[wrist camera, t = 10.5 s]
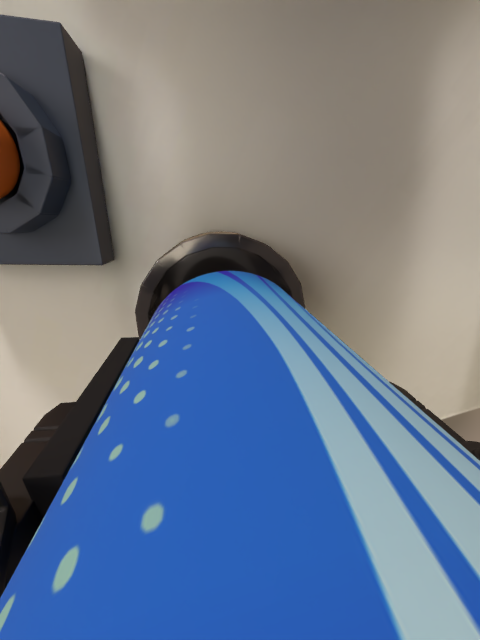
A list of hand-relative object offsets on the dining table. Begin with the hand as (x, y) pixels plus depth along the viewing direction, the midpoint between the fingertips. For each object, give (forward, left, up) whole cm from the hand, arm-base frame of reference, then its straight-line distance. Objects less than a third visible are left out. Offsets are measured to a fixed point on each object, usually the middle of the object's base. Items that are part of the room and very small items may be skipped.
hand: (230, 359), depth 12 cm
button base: (-9, -12, -8) cm, 17 cm away
